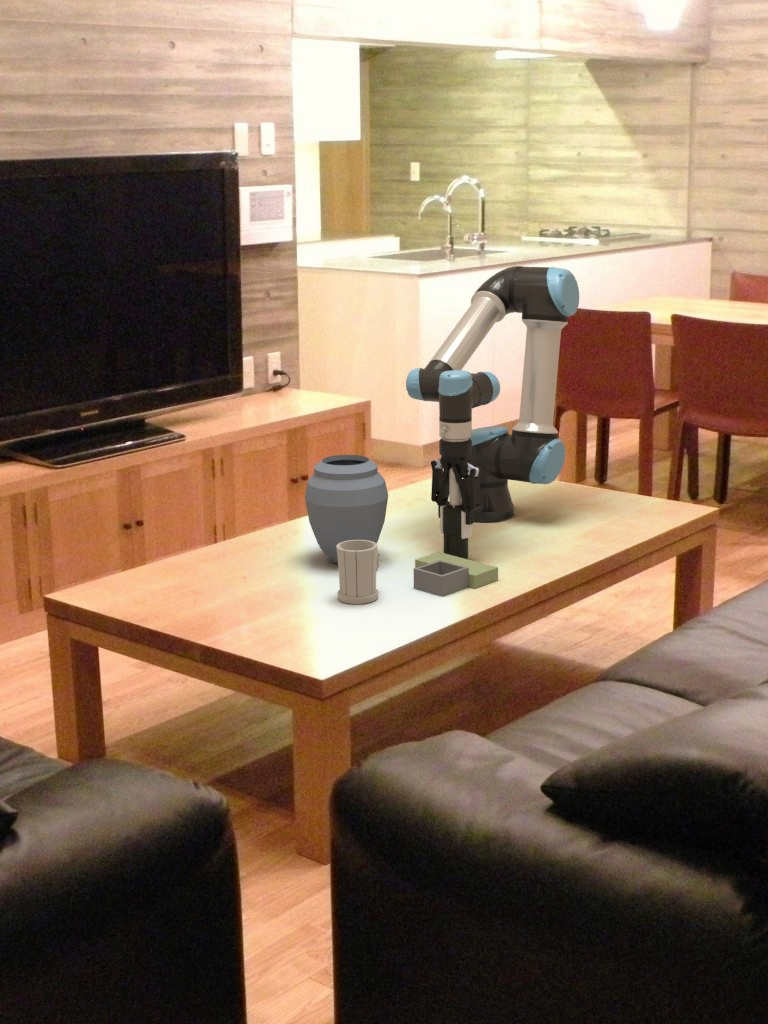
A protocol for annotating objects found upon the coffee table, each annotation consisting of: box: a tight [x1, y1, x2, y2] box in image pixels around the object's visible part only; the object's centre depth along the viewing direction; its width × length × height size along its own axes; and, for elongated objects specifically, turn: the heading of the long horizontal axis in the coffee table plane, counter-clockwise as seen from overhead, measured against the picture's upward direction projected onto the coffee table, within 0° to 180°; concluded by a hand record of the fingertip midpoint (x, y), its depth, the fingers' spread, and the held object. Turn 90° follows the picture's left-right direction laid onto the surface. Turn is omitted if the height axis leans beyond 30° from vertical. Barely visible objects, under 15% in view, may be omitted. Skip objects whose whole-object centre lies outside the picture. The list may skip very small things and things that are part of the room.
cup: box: [336, 540, 381, 605], centre depth 298 cm, size 10×9×12 cm
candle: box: [443, 468, 469, 559], centre depth 323 cm, size 5×5×25 cm
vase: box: [304, 454, 389, 565], centre depth 323 cm, size 20×20×24 cm
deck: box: [413, 551, 499, 597], centre depth 310 cm, size 18×17×4 cm
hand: (455, 534), depth 324 cm, fingers closed on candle, 6 cm apart
